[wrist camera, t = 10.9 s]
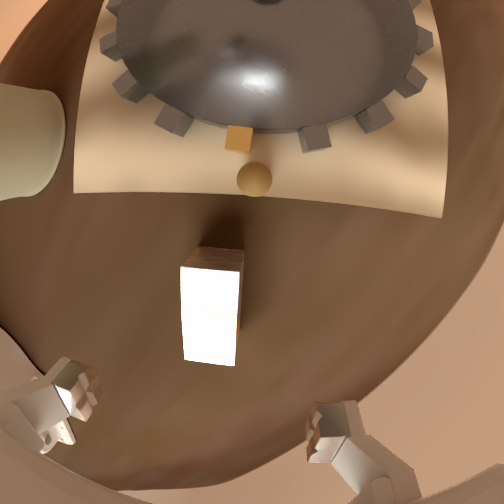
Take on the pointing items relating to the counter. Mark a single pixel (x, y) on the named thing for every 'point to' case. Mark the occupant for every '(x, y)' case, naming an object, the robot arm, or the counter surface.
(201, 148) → the plate
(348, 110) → the sprocket
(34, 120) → the can
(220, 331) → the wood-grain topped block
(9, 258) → the counter surface
